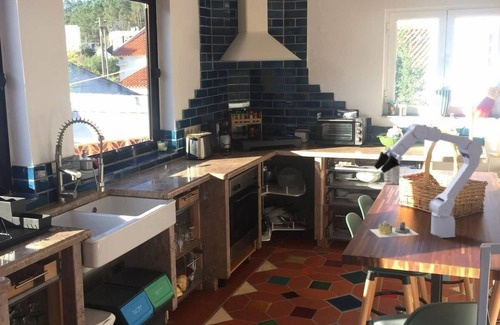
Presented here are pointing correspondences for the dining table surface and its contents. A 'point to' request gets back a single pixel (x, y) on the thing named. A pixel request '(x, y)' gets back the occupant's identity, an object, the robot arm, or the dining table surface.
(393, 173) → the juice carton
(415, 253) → the dining table surface
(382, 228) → the brass collar
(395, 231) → the assembly board
